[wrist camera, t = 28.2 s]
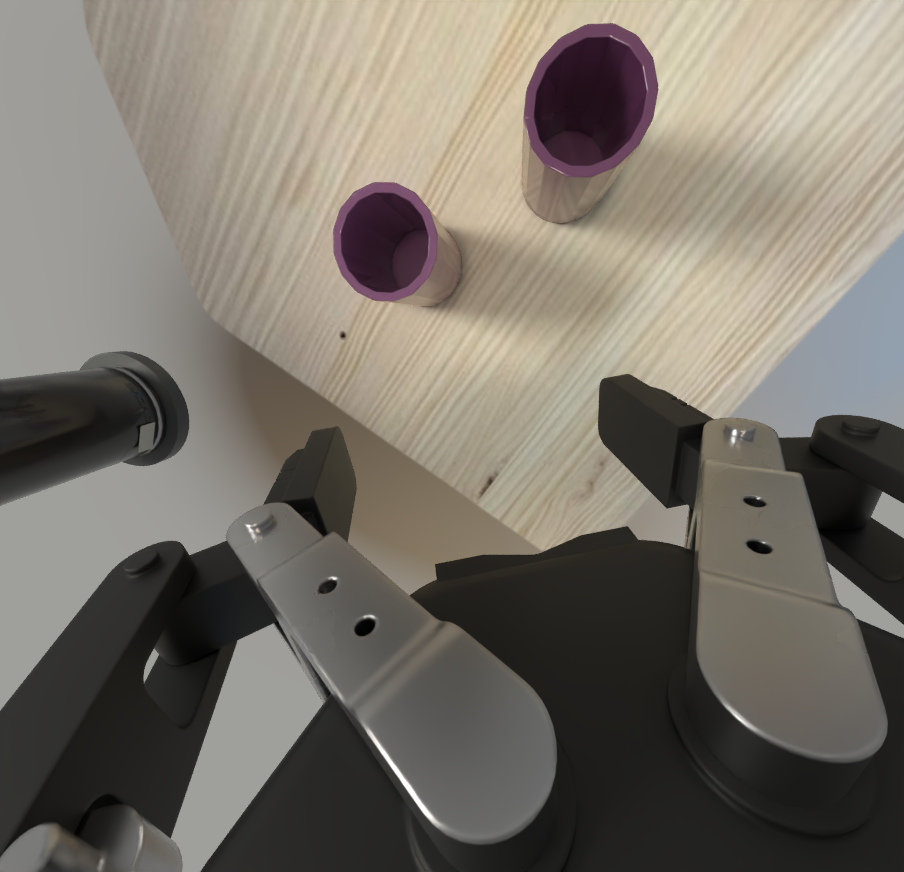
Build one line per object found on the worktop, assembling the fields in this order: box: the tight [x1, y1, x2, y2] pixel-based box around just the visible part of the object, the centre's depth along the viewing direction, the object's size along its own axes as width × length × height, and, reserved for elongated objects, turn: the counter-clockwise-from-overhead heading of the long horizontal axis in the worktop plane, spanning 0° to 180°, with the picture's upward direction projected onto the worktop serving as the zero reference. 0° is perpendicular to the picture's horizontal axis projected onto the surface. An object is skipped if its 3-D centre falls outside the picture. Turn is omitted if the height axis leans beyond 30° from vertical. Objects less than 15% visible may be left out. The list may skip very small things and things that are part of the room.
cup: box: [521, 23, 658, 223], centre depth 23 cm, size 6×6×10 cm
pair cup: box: [333, 182, 462, 306], centre depth 26 cm, size 6×6×10 cm
